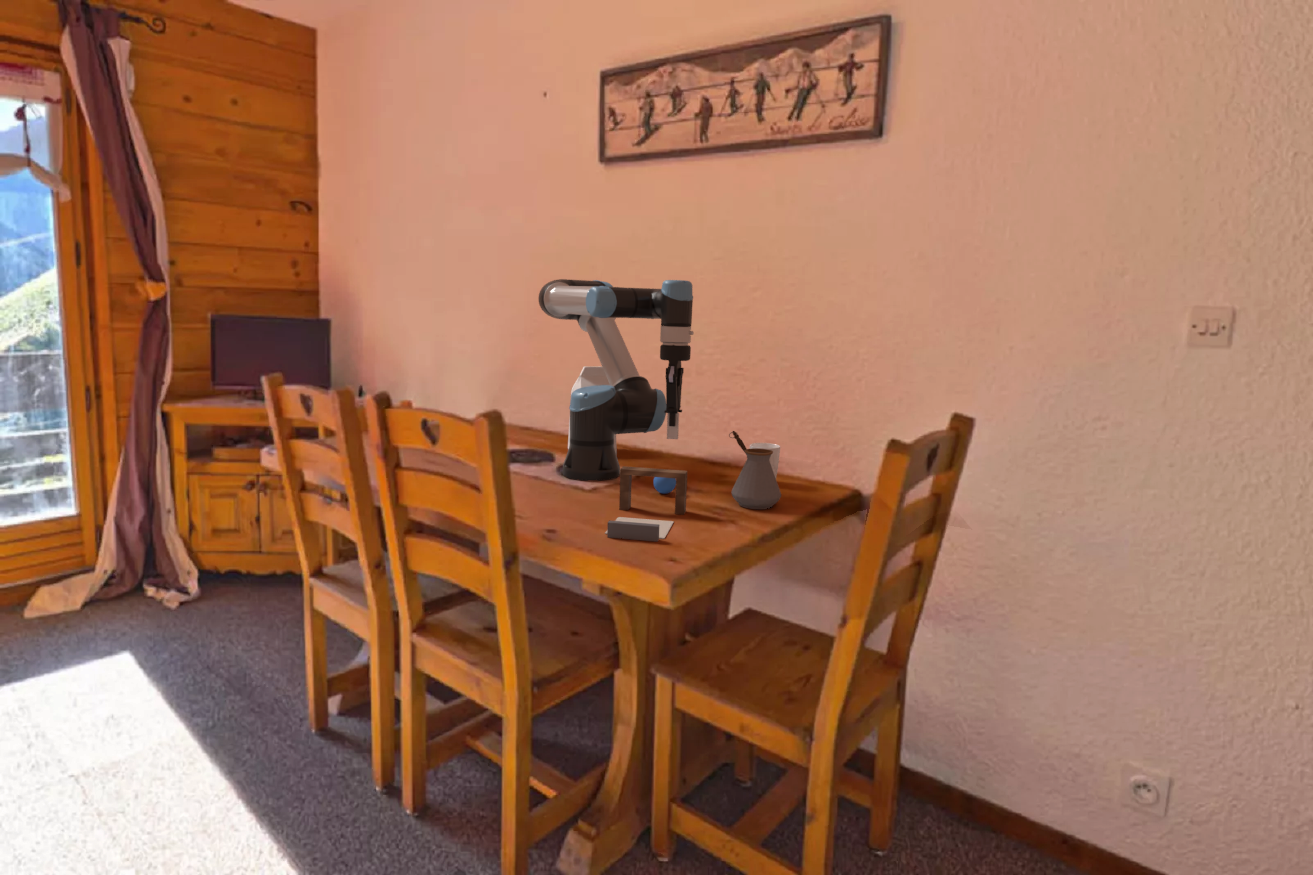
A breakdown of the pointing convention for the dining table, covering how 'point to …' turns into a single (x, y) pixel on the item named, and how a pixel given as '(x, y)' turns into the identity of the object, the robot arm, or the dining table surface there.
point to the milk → (591, 378)
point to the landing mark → (663, 525)
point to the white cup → (774, 457)
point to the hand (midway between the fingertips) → (672, 438)
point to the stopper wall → (633, 530)
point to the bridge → (651, 472)
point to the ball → (664, 484)
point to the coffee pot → (756, 479)
